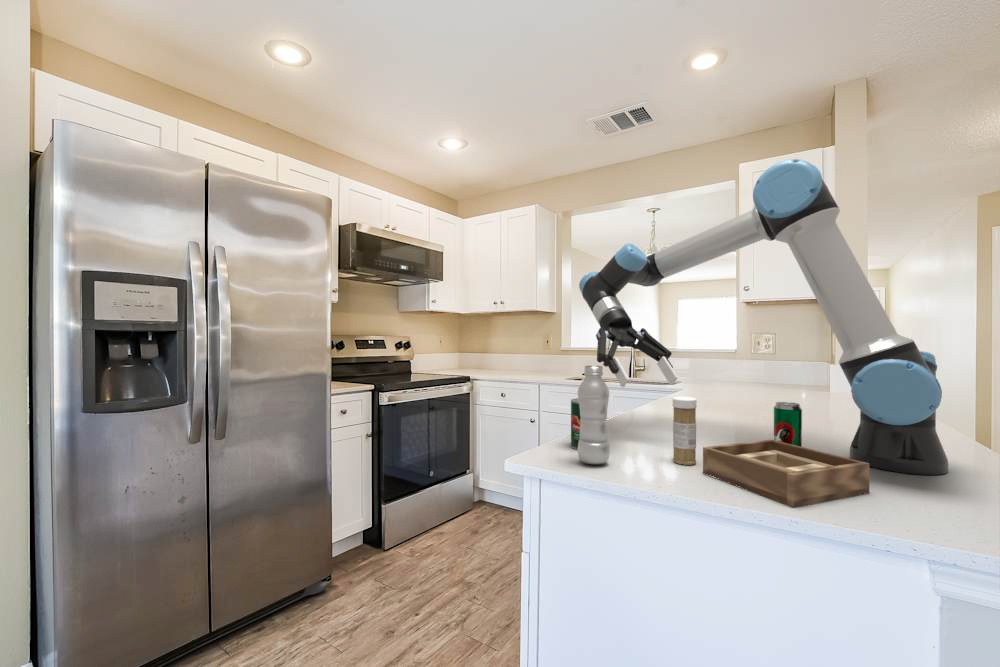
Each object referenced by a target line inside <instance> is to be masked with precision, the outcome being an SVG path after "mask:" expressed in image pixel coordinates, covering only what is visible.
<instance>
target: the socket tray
mask: <svg viewBox="0 0 1000 667" xmlns="http://www.w3.org/2000/svg"><path fill="white" fill-rule="evenodd" d="M703 473H705V474H704V475H706V474H708V475H711V476H714V477H716V478H719V479H721V480H724V481H726V482H725V483H727V482H729V483H731V484H730V485H732V484H734V485H733V486H735V485H737V486H740V487H742V488H741V489H743V488H744V489H743V490H745V489H747V490H746V491H748V490H749V491H748V492H751V491H752V492H751V493H753V492H754V494H756V493H757V494H756V495H758V494H759V495H758V496H761V497H764V498H766V497H767V499H769V500H772V501H775V502H778V503H779V504H782V505H785V506H787V507H791V508H799V506H800V507H804V505H805V506H809V504H810V505H814V503H815V504H819V502H821V503H825V502H824V501H826V502H831V501H835V500H834V499H836V500H841V499H840V498H842V499H846V498H845V497H847V498H851V497H850V496H852V497H856V496H855V495H857V496H860V495H859V494H862V495H865V494H864V493H868V494H870V466H869V463H866V462H862V461H857V460H853V459H851V458H850V457H849V458H848V457H845V456H841V455H836V454H834V453H833V454H832V453H828V452H826V451H825V452H824V451H820V450H816V449H811V448H807V447H804V446H802V447H800V446H796V445H792V444H787V443H783V442H779V441H775V440H774V439H765V440H757V441H747V442H746V441H745V442H740V443H737V442H736V443H730V444H721V445H713V446H712V445H711V446H710V445H709V446H705V447H704V446H703V447H702V474H703ZM708 475H707V476H708ZM711 476H710V477H711ZM716 478H715V479H716ZM719 479H718V480H719ZM721 480H720V481H721ZM724 481H723V482H724ZM729 483H728V484H729ZM737 486H736V487H737ZM740 487H739V488H740ZM830 500H831V501H830Z"/></svg>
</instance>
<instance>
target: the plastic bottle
mask: <svg viewBox="0 0 1000 667" xmlns="http://www.w3.org/2000/svg"><path fill="white" fill-rule="evenodd" d="M583 374H584V375H583V376H585V377H584V379H583V380H582V382H581V383H580V384H579V386H578V388H577V398H578V400H579V407H580V417H581V419H580V422H581V425H580V438H579V439H580V440H579V443H578V450H577V456H578V459H579V460H580V462H582V463H584V464H588V465H604V464H606V463H607V462H608V460H609V459H610V452H611V450H610V443H609V441H608V440H609V438H608V437H609V436H608V429H607V422H608V420H607V417H608V406H609V400H610V399H609V397H610V390H609V387H608V385H607V383H606V382H605V381H604V380H603V377H602V376H604V372H603V365H584V373H583Z"/></svg>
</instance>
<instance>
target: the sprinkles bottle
mask: <svg viewBox="0 0 1000 667" xmlns="http://www.w3.org/2000/svg"><path fill="white" fill-rule="evenodd" d="M697 407H698V406H697V399H696V398H695V397H690V396H674V397H672V409H673V421H672V423H673V424H672V435H673V436H672V438H673V439H672V441H673V442H672V445H673V458H672V462H674V463H676V464H678V465H682V464H683V465H684V466H693V465H695V464H696V463H697V459H696V458H697V457H696V448H697V423H696V421H697V420H696V419H697V418H696V415H697V414H696V412H697V411H696V410H697V409H696V408H697Z"/></svg>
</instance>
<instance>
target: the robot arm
mask: <svg viewBox="0 0 1000 667" xmlns="http://www.w3.org/2000/svg"><path fill="white" fill-rule="evenodd" d="M752 190H753V191H752V201H753V204H754V206H753V208H752V209H751V210H750V211H747V212H745V213H743V214H741V215H738V216H735V217H733V218H731V219H728V220H726V221H724V222H722V223H719V224H718V225H714V226H713V227H711V228H708V229H707V230H703V231H702V232H699V233H696V234H695V235H692V236H690V237H688V238H685V239H684V240H682V241H679V242H676V243H674V244H672V245H670V246H668V247H667V246H666V247H664V248H663V249H661V250H658V251H656V252H653V253H652V254H649V255H646V254H645V253H644V252H643V251H642V250H641V249H640V248H639V247H637V246H635V245H634V244H632V243H629V242H628V243H626V244H624V245H623V246H621V248H620V249H619V250H618V251H616V252H615V254H614V255H613V256H612V257H611V258H610V260H609V261H608V262H607V263H606V264H605V265H604V266H603V268H602V269H601V270H600V271H591V272H588V273H587V274H585V275H583V276H582V278H581V279H580V281H579V284H578V286H579V287H578V288H579V291H580V292H581V295H582V298H583V299H584V301H585V303H586V304H587V306H588V307H589V309H590V311H591V313H592V315H593V316H594V318H595V320H596V322H597V323H598V324H599V327H600V328H598V330H597V332H596V334H595V337H596V339H597V349H596V351H597V352H596V361H597V362H598V363H599V364H600V363H602V362H603V364H602V366H604V367H608V368H609V371H610V372H611V373H612V374H614V376H615V377H616V380H617V381H618V384H619V385H620V387H621V388H625V386H626V385H627V384H628V382H629V381H630V378H629V376H628V374H627V372H626V370H625V368H624V367H623V365H622V363H621V362H620V360H619V358H618V357H614V356H615V354H616V351H617V349H618V347H620V348H624V347H627V348H632V349H634V350H638V351H641V352H642V353H643V354H645V355H646V356H648V357H650V358H651V359H653V360H655V361H656V362H657V363H656V365H657V366H658V368H659V370H660V372H661V373H662V374H663V376H664V378H665V379H666V381H667V382H668V384H669V385H674V384H675V382H676V381H677V380H678V378H679V375H677V373H676V371H675V370H674V366H673V365H672V363H671V362H670V360H669V359H670V357H671V356H672V355H673V354H672V351H670V350H669V349H668V348H667V347H665V346H664V345H663V344H662V343H660V341H658V340H657V339H656V338H655V337H653V336H652V335H651V334H649V332H648V331H647V330H646V328H641V329H640V330H636V329H635V328H634V327H633V321H632V320H631V317H630V316H629V314H628V313H627V311H626V310H625V308H624V307H623V304H622V303H621V302H620V300H619V298H618V297H617V294H618V293H619V292H620V291H622V289H623V288H625V287H626V286H627V284H633V285H638V286H642V287H654V286H656V285H658V284H660V282H661V281H662V280H663V279H665V278H668V277H670V276H673V275H675V274H679V273H682V272H683V271H686V270H689V269H691V268H693V267H697V266H699V265H702V264H703V263H707V262H709V261H712V260H714V259H717V258H719V257H722V256H724V255H727V254H729V253H732V252H735V251H738V250H740V249H742V248H745V247H747V246H750V245H752V244H755V243H757V242H760V241H763V240H766V241H769V242H772V241H775V240H776V241H777V242H781V243H784V244H786V245H788V247H789V249H790V251H791V252H792V255H793V256H794V258H795V261H796V262H797V264H798V267H799V268H800V270H801V272H802V273H803V276H804V278H805V280H806V282H807V283H808V286H809V288H810V290H811V291H812V292H813V295H814V297H815V299H816V301H817V303H818V305H819V306H820V309H821V311H822V313H823V315H824V316H825V318H826V321H827V323H828V324H829V326H830V328H831V331H832V332H833V334H834V336H835V338H836V340H837V342H838V343H839V344H838V345H840V348H841V350H842V354H841V355H840V358H839V360H838V364H839V366H840V368H841V370H842V372H843V374H844V376H845V378H846V380H847V382H848V384H849V386H850V388H851V389H850V393H851V397H852V400H853V402H854V404H855V405H856V406H857V408H858V409H859V412H860V413H859V415H860V416H859V418H860V419H859V420H860V421H859V425H858V427H857V430H856V432H855V434H854V437H853V439H852V441H851V444H850V447H849V459H853V460H857V461H862V462H866V463H869V467H872V468H875V469H880V470H884V471H891V472H896V473H904V474H913V475H927V476H928V475H929V476H930V475H933V476H934V475H935V476H936V475H945V474H947V473H948V472H949V460H948V457H947V455H946V452H945V449H944V447H943V445H942V442H941V440H940V438H939V436H938V432H937V430H936V429H937V428H936V424H937V423H936V418H937V415H936V414H937V412H936V411H937V409H938V408H939V407H940V405H941V402H942V398H943V397H942V394H943V391H942V387H941V384H940V382H939V380H938V379H937V370H938V365H937V362H936V356H935V355H934V354H932V353H931V352H928V351H922V350H921V351H920V350H919V348H918V346H917V344H916V343H915V341H914V339H912V338H909V337H905V336H902V335H900V334H899V333H897V331H896V328H895V326H894V325H893V323H892V321H891V320H890V318H889V316H888V314H887V313H886V310H885V309H884V307H883V305H882V303H881V301H880V300H879V298H878V296H877V294H876V292H875V290H874V289H873V287H872V284H871V283H870V281H869V280H868V277H866V274H865V272H864V271H863V269H862V267H861V265H860V264H859V262H858V259H857V258H856V256H855V255H854V253H853V252H852V249H851V248H850V246H849V244H848V242H847V240H846V238H845V237H844V235H843V233H842V231H841V230H840V228H839V226H838V223H837V222H836V221H837V218H838V216H839V213H840V211H841V209H840V208H839V205H838V204H837V203H836V200H835V198H834V196H833V195H832V193H831V192H830V190H829V187H828V186H827V184H826V182H825V181H824V179H823V176H822V173H821V171H820V170H819V168H818V167H817V166H816V165H814V164H812V163H810V162H809V161H807V160H804V159H797V158H793V159H786V160H785V159H784V160H782V161H779V162H777V163H774V164H773V165H771V166H770V167H768V168H767V169H766V170H765V171H763V172H762V174H760V176H759V177H758V178H757V180H756V182H755V185H754V187H753V189H752ZM607 339H608V340H609V341H611V342H612V343H611V344H610V346H609V350H608V352H607ZM637 340H638V341H637ZM636 342H637V343H636Z"/></svg>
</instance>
